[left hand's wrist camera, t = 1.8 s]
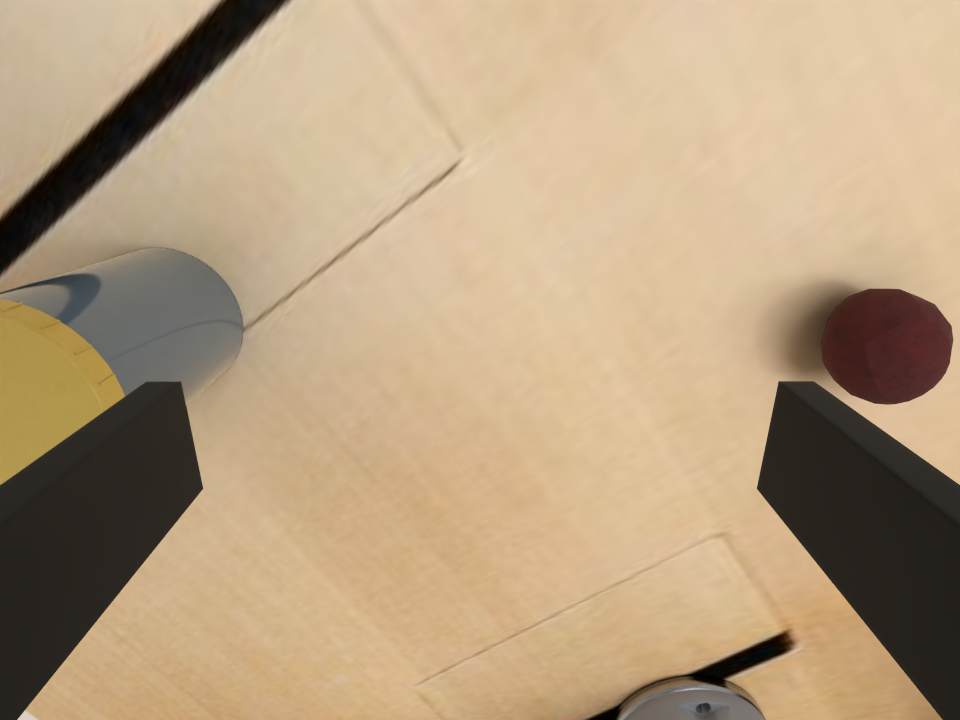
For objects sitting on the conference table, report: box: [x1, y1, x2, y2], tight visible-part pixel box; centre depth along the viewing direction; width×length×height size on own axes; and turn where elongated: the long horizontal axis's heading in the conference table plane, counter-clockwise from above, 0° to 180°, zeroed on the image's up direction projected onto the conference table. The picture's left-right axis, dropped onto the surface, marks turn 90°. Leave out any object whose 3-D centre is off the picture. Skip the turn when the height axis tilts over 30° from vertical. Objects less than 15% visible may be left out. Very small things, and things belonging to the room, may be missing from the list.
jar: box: [0, 248, 243, 406], centre depth 33 cm, size 10×10×16 cm
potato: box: [821, 289, 953, 404], centre depth 38 cm, size 7×8×7 cm
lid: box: [0, 299, 125, 485], centre depth 26 cm, size 11×11×2 cm
